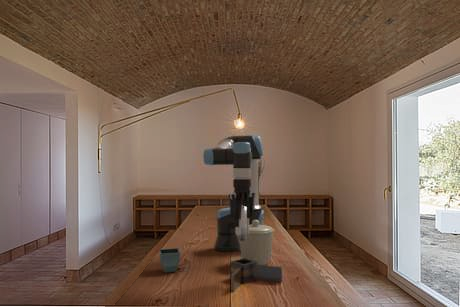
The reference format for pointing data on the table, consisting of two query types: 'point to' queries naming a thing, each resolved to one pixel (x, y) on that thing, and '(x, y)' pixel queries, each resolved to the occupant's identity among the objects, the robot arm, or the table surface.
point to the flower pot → (169, 259)
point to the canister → (258, 243)
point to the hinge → (252, 272)
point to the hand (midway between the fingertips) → (242, 233)
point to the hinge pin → (243, 224)
